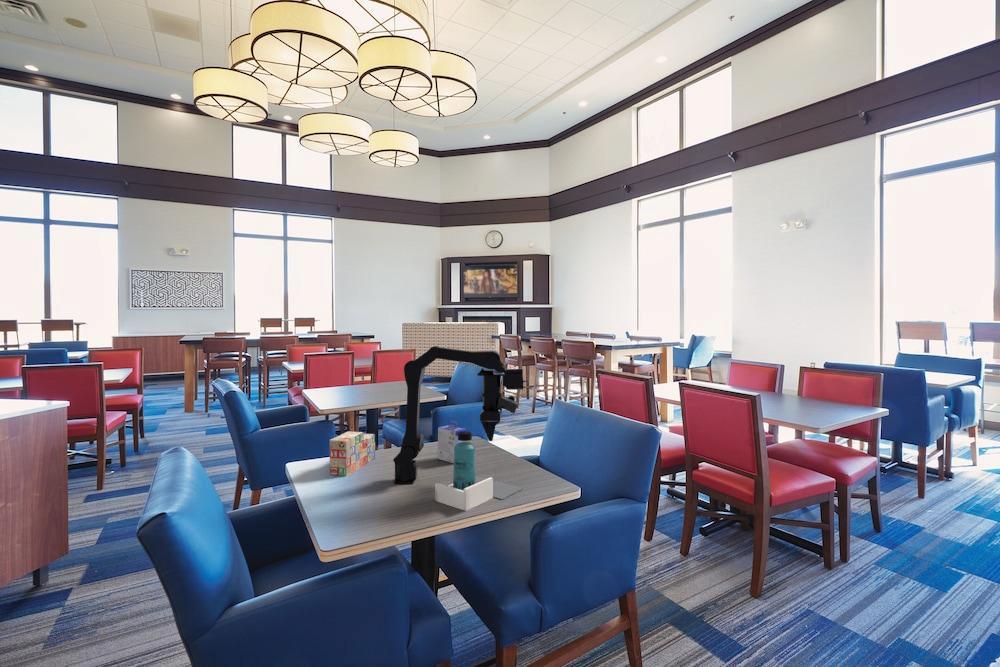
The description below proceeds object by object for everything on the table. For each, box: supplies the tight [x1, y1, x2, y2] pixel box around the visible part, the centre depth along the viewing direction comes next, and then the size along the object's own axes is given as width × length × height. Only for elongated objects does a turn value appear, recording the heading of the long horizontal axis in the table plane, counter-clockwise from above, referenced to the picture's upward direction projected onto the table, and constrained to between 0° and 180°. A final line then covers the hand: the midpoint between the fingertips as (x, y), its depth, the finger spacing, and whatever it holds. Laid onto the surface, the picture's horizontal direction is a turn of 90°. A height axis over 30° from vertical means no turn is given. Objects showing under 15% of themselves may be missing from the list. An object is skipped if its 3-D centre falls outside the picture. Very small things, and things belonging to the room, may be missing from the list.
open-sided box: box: [434, 476, 494, 512], centre depth 138 cm, size 12×12×6 cm
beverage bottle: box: [452, 430, 476, 491], centre depth 138 cm, size 6×7×20 cm
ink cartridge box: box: [437, 420, 466, 464], centre depth 176 cm, size 10×6×14 cm, turn 49°
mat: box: [475, 476, 524, 501], centre depth 148 cm, size 18×11×1 cm, turn 53°
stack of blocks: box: [329, 430, 376, 477], centre depth 169 cm, size 21×6×12 cm, turn 169°
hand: (491, 437), depth 153 cm, fingers open, 9 cm apart
